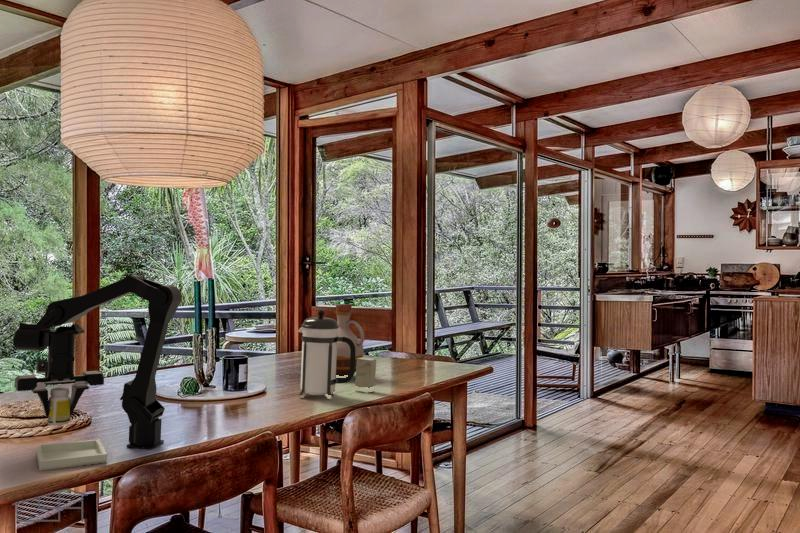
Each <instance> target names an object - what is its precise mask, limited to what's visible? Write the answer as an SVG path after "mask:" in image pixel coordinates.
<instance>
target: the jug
mask: <svg viewBox="0 0 800 533" xmlns="http://www.w3.org/2000/svg"><path fill="white" fill-rule="evenodd" d="M352 307H353V304H335V309H336V310H335V315H336V321H337V324H338V325H339V328H338V333H337V336H338V337H347V338H349V339H351V340H352V341H353V343H354V345H355V372H354V374H356V366H357V358H362V357H363V358H364V354H365V353H364V351H365V350H364V345H363V344H364V341H365V332H364V329H363V328H362V326H361V325H360V324H359V323H358V322H357V321H355V320H354V319H353V320H350V318H351V315H352V311H351V310H352ZM350 325H354V327H356V328H357V330H358V332H359V334H360V339H359V338H358V337H357V336H356V335H355V333H353V331H352V330H351V329H350ZM349 373H350V346H349V345H348V344H347V343H346V342H340V341H337V357H336V375H339V376H344V375H349Z"/></svg>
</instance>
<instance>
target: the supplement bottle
mask: <svg viewBox="0 0 800 533" xmlns="http://www.w3.org/2000/svg"><path fill="white" fill-rule="evenodd" d="M49 394H50V396H49V397H48V402H49V416H48V417H47V425H49V426H64V425H67V424H69V423H70V421H71V415H70V400H71V395H69V394H70V388H69V387H55V388H51V389H50V392H49Z"/></svg>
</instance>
